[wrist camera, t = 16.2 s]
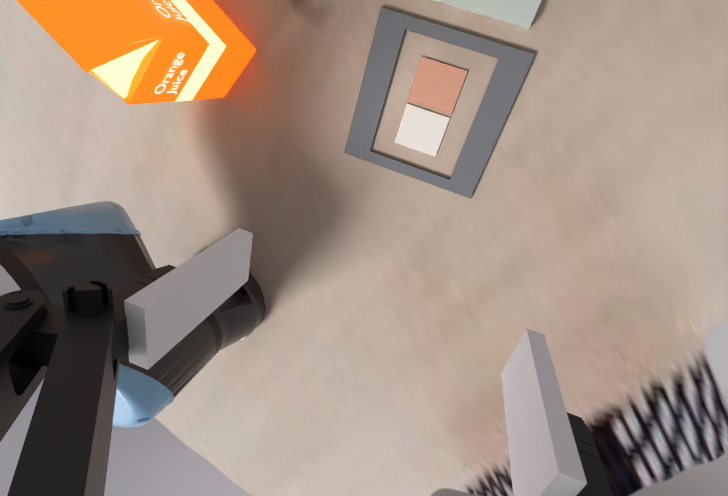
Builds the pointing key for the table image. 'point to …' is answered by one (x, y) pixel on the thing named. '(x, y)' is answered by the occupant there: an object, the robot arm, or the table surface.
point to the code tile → (434, 100)
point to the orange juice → (149, 45)
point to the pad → (500, 9)
